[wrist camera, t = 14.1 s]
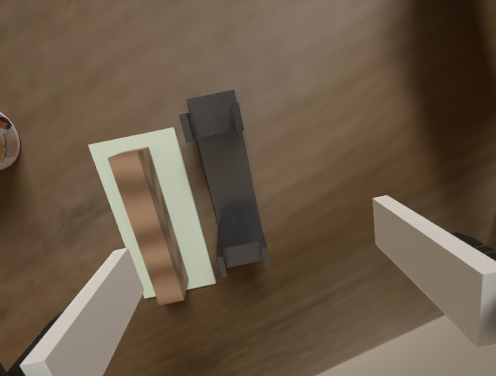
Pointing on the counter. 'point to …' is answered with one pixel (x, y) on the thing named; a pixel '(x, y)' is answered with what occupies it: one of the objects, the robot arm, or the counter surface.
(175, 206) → the mat
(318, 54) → the counter surface
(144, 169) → the rail
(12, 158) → the mug
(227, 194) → the rack
